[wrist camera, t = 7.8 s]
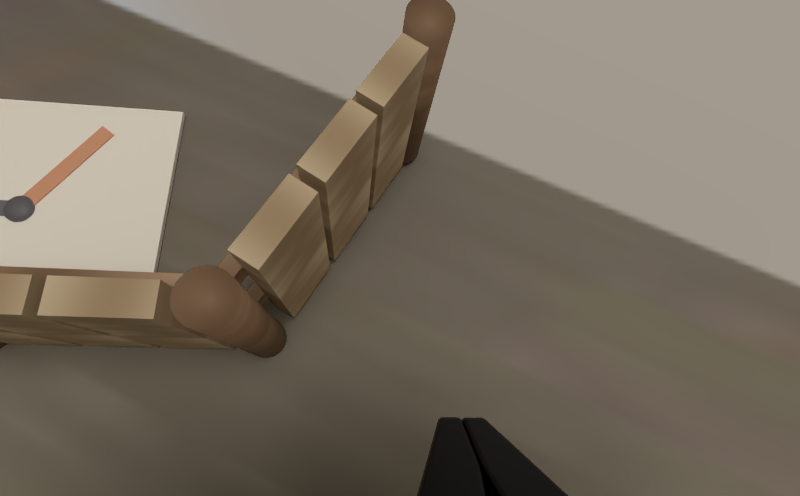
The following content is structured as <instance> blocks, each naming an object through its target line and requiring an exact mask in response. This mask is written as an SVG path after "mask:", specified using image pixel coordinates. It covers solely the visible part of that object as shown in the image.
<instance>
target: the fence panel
mask: <svg viewBox="0 0 800 496" xmlns="http://www.w3.org/2000/svg"><path fill="white" fill-rule="evenodd" d="M454 22H455V12H454V10H453V8H452V6H451V5H450V4H449V3H448V2H447V1H446V0H411V1H410V2H409V3H408V5H407V7H406V12H405V20H404V26H403V33H402V34H401V35H400V37H399V38H398V39H397V40H396V41H395V43H394V44H393V45H392V47H391V48H390V49H389V50H388V51H387V53H386V54H385V55H384V56H383V58H382V59H381V60H380V61H379V63H378V64H377V65H376V66H375V67H374V69H373V70H372V71H371V72H370V74H369V75H368V76H367V77H366V79H365V80H364V81H363V82H362V84H361V85H360V86H359V87H358V89H357V90H356V95H355V96H354V97H353V99H350V98H349V100H348V101H347V102H346V103H345V105H344V106H343V107H342V108H341V110H340V111H339V112H338V113H337V115H336V116H335V117H334V118H333V119H332V121H331V122H330V123H329V124H328V126H327V127H326V128H325V129H324V131H323V132H322V133H321V134H320V136H319V137H318V138H317V139H316V141H315V142H314V143H313V144H312V145H311V147H310V148H309V149H308V150H307V152H306V153H305V154H304V155H303V157H302V158H301V159H300V160H299V162H298V163H297V164H296V165H297V168H296V170H295V171H294V172H293V173H292V175H290V174H288V175H287V176H286V178H285V179H284V180H283V181H282V183H281V184H280V185H279V186H278V188H277V189H276V190H275V191H274V193H273V194H272V195H271V196H270V197H269V199H268V200H267V201H266V202H265V204H264V205H263V206H262V207H261V209H260V210H259V211H258V212H257V214H256V215H255V216H254V217H253V219H252V220H251V221H250V222H249V223H248V225H247V226H246V227H245V228H244V230H243V231H242V232H241V233H240V235H239V236H238V237H237V238H236V240H235V241H234V242H233V243H232V245H231V246H230V247H229V248H228V249H227V250H228V251H229V253H228V254H227V255H226V257H225V258H224V259H223V260H222V262H221V263H220V264H219V265H218V267H219V268H222V269H224V270H226V271H227V272H228V273H229V274H230V275H231V276H232V277H233V278H234V279H235V280H236V281H237V282H238V283H239V284H240V285H241V283H242V282H243V281H244V279H245V278H246V277H247V275H249V276H250V277H251V278H252V279H253V280H254V282H253V283H252V285H251V286H250V287H249V288H248V290H247V291H248V292H249V293H250V294H251V295H252V296H253V297H254V298H255V299H256V300H257V301H258V302H259V303H260V304H261V305H262V306H263V304H264V303H265V302H266V300H267V299H268V298H269V299H270V300H271V301H272V303H273V304H274V305H275V306H277V307H278V308H280V309H281V310H283V311H284V312H286V313H287V314H289V315H290V316H292V317H293V318H294V317H295V316H296V315H297V313H298V312H299V310H300V309H301V308H302V306H303V305H304V303H305V302H306V301H307V299H308V298H309V296H310V295H311V294H312V292H313V291H314V289H315V288H316V287H317V285H318V284H319V282H320V281H321V279H322V278H323V277H324V275H325V274H326V272H327V271H328V270H329V268H330V262H329V258H331V259H333V260H334V261H335V260H336V258H337V257H338V256H339V254H340V253H341V251H342V250H343V249H344V247H345V246H346V244H347V243H348V242H349V240H350V239H351V237H352V236H353V234H354V233H355V232H356V230H357V229H358V227H359V226H360V225H361V223H362V222H363V220H364V219H365V218H366V216H367V215H368V207H370V208H371V209H372V208H373V206H374V205H375V204H376V202H377V201H378V199H379V198H380V197H381V195H382V194H383V192H384V191H385V189H386V188H387V187H388V185H389V184H390V182H391V181H392V180H393V178H394V177H395V175H396V174H397V173H398V171H399V170H400V168H401V167H402V164H404V163H409V162H411V161H413V160H414V159H415V158H416V156H417V154H418V150H419V147H420V143H421V140H422V136H423V133H424V129H425V125H426V122H427V118H428V115H429V111H430V108H431V104H432V101H433V97H434V94H435V90H436V86H437V83H438V79H439V76H440V72H441V69H442V65H443V61H444V58H445V54H446V51H447V47H448V44H449V40H450V37H451V33H452V30H453V26H454Z"/></svg>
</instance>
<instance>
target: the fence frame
mask: <svg viewBox="0 0 800 496" xmlns="http://www.w3.org/2000/svg"><path fill="white" fill-rule="evenodd" d="M286 337H287V336H286V331H285V329H284V327H283V326H282V325H281V324H280V323H279V322H278V321H277V320H276V319H275V318H274V317H273V316H272V315H271V314H270V313H269V312H268V311H267V310H266V309H265V308H264V307H263V306H262V305H261V304H260V303H259V302H258V301H257V300H256V299H255V298H254V297H253V296H252V295H251V294H250V293H249V292H248V291H247V290H246V289H245V288H244V287H243V286H241V285H240V284H239V283H238V282H237V281H236V280H235V279H234V278H233V277H232V276H231V275H230V274H229V273H228V272H227V271H226V270H224V269H222V268H219V267H216V266H210V265H205V266H199V267H195V268H193V269H191V270H189V271H187V272H186V273H184V274H182V273H157V272H133V271H108V270H84V269H59V268H34V267H10V266H0V348H1V347H3V346H4V345H6V344H7V343H9V344H39V345H77V346H82V344H84V345H89V346H115V347H153V348H160V346H163V347H167V348H192V349H230V350H235V347H237V348H240V349H242V350H245V351H247V352H249V353H252V354H254V355H257V356H260V357H263V358H269V357H273V356H275V355H277V354H278V353H279V352H281V351H282V349H283V348H284V346H285V344H286Z"/></svg>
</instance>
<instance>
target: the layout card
mask: <svg viewBox="0 0 800 496" xmlns="http://www.w3.org/2000/svg"><path fill="white" fill-rule="evenodd" d="M184 120H185V114H184V113H183V112H175V111H162V110H148V109H134V108H120V107H106V106H92V105H78V104H64V103H50V102H36V101H23V100H9V99H0V266H10V267H34V268H59V269H84V270H108V271H133V272H157V268H158V263H159V257H160V252H161V246H162V241H163V235H164V230H165V224H166V219H167V213H168V208H169V202H170V197H171V192H172V186H173V181H174V175H175V170H176V164H177V159H178V153H179V148H180V142H181V137H182V131H183V126H184Z"/></svg>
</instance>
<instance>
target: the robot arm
mask: <svg viewBox="0 0 800 496" xmlns="http://www.w3.org/2000/svg"><path fill="white" fill-rule="evenodd" d="M417 496H568V495H567V494H566V493H565V492H564V491H562V490H561V489H560V488H559V487H558V486H557V485H556V484H555V483H554V482H553V481H552V480H551V479H549V478H548V477H547V476H546V475H545V474H544V473H543V472H542V471H541V470H540V469H539V468H537V467H536V466H535V465H534V464H533V463H532V462H531V461H530V460H529V459H528V458H527V457H526V456H524V455H523V454H522V453H521V452H520V451H519V450H518V449H517V448H516V447H515V446H514V445H513V444H511V443H510V442H509V441H508V440H507V439H506V438H505V437H504V436H503V435H502V434H501V433H499V432H498V431H497V430H496V429H495V428H494V427H493V426H492V425H491V424H490V423H489V422H488V421H486V420H485V419H483V418H463V419H462V420H461V419H460V418H457V417H442V418H439V420H438V423H437V426H436V430H435V433H434V437H433V441H432V444H431V448H430V451H429V455H428V458H427V462H426V466H425V469H424V473H423V476H422V480H421V483H420V487H419V491H418V494H417Z"/></svg>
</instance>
